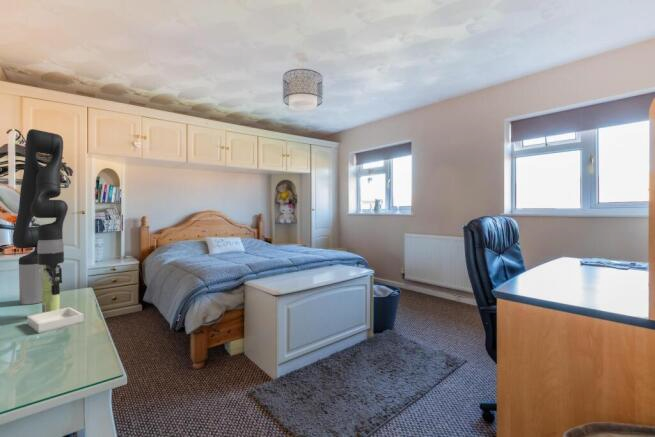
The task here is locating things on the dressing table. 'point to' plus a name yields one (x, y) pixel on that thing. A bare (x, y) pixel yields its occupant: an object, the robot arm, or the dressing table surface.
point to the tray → (54, 319)
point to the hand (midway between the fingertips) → (52, 293)
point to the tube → (48, 294)
